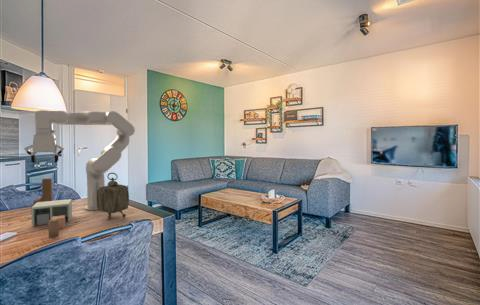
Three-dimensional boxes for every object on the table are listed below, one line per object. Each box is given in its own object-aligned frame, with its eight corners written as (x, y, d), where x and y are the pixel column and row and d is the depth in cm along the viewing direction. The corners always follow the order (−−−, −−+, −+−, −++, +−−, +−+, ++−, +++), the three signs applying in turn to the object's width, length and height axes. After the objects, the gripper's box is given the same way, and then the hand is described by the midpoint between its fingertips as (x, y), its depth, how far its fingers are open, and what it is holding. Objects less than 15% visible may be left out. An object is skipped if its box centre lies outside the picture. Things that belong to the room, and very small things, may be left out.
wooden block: (33, 207, 152) (32, 179, 151) (35, 206, 156) (34, 178, 155) (51, 206, 156) (50, 178, 156) (52, 204, 160) (51, 177, 160)
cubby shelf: (71, 215, 136) (71, 199, 136) (69, 221, 126) (69, 203, 125) (37, 219, 128) (36, 202, 128) (32, 226, 118) (31, 207, 118)
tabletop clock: (129, 216, 134) (128, 172, 133) (116, 221, 126) (115, 174, 125) (109, 214, 139) (108, 171, 138) (95, 218, 130) (94, 173, 130)
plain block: (51, 220, 127) (50, 211, 127) (49, 223, 123) (49, 213, 123) (39, 222, 125) (38, 212, 125) (36, 225, 121) (36, 215, 120)
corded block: (65, 224, 121) (65, 211, 120) (60, 236, 106) (59, 220, 106) (53, 226, 118) (52, 212, 118) (45, 238, 103) (45, 222, 103)
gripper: (64, 132, 141) (65, 161, 142) (25, 132, 132) (26, 162, 133) (62, 132, 134) (63, 162, 135) (22, 131, 126) (23, 163, 126)
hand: (45, 162), depth 134 cm, fingers open, 9 cm apart
